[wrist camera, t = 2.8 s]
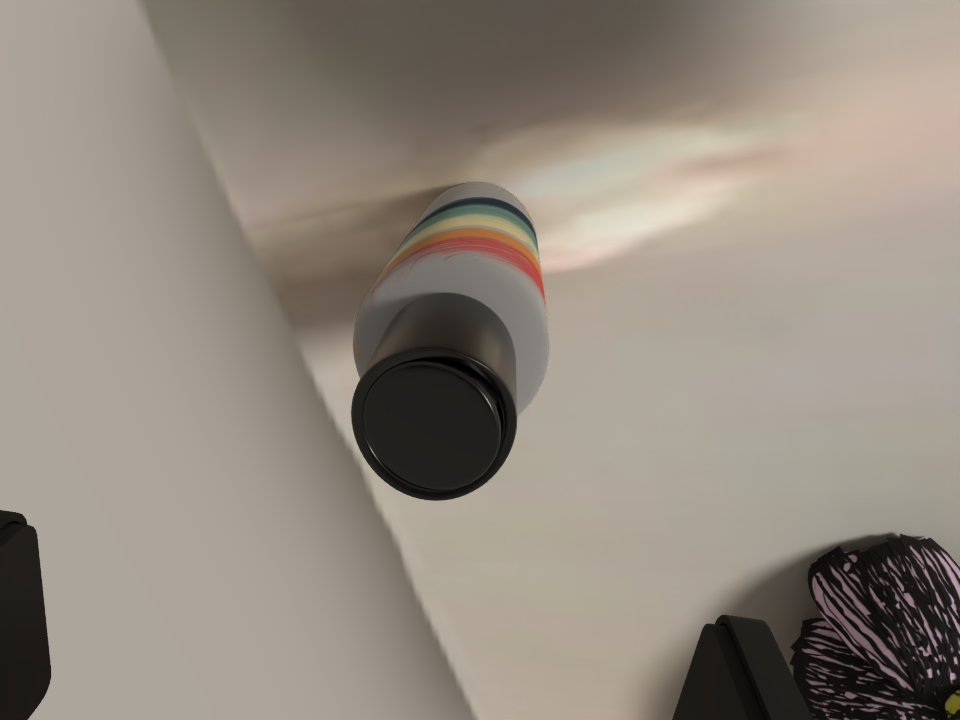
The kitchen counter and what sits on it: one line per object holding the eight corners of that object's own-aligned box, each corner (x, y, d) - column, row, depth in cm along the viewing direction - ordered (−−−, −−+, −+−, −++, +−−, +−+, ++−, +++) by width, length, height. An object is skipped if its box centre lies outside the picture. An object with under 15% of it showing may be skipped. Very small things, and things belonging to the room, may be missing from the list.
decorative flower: (1240, 675, 29) (1090, 985, 31) (1071, 586, 41) (966, 814, 42) (883, 533, 32) (758, 821, 33) (818, 487, 44) (727, 703, 45)
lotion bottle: (535, 297, 35) (558, 546, 16) (421, 297, 35) (314, 541, 16) (537, 179, 33) (566, 310, 14) (415, 180, 33) (286, 310, 14)
